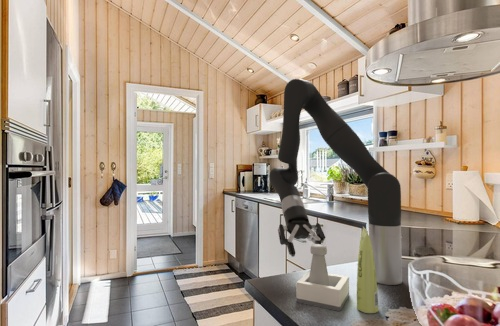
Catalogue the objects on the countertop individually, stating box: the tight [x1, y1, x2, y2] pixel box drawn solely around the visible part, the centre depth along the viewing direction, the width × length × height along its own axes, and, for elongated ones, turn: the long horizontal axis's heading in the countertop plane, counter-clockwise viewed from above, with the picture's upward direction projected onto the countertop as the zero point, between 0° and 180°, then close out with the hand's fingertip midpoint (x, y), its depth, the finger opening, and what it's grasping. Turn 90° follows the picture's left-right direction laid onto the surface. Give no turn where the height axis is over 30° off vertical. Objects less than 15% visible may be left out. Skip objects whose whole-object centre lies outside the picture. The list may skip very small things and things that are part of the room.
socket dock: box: [295, 270, 350, 312], centre depth 80 cm, size 11×11×5 cm
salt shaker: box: [308, 243, 330, 286], centre depth 81 cm, size 6×6×13 cm
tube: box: [356, 226, 379, 314], centre depth 74 cm, size 6×5×20 cm
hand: (307, 254), depth 92 cm, fingers open, 8 cm apart
